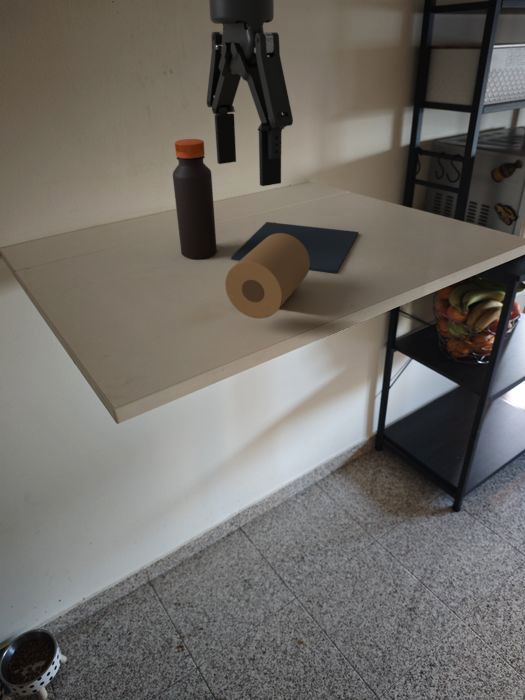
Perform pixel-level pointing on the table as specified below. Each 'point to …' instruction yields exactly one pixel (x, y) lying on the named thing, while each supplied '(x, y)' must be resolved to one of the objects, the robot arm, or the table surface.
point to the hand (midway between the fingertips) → (247, 172)
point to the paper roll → (267, 275)
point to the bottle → (194, 200)
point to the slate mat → (308, 244)
